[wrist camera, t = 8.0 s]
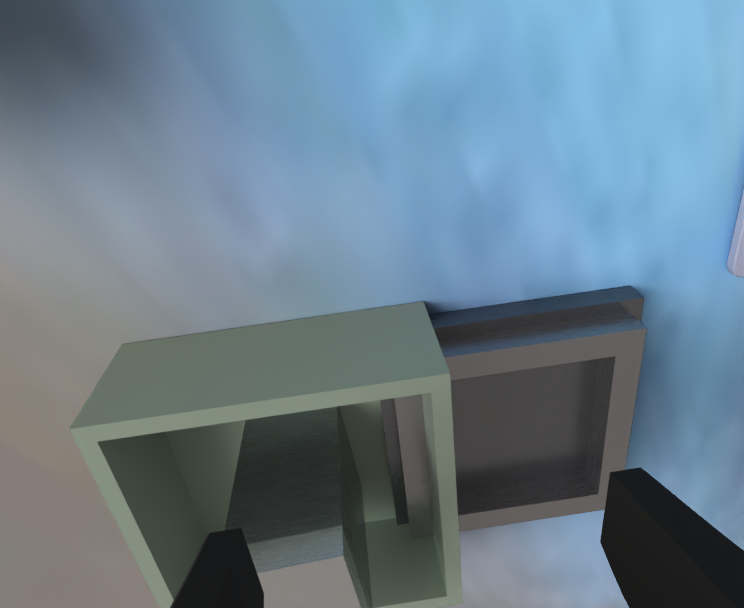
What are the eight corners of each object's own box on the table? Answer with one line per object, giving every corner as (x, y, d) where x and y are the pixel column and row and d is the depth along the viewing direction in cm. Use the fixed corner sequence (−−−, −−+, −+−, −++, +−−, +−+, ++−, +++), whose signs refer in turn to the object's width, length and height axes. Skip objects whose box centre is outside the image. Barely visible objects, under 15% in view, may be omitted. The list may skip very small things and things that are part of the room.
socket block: (629, 285, 20) (663, 313, 18) (605, 475, 25) (629, 513, 23) (369, 323, 20) (374, 355, 18) (394, 507, 25) (400, 548, 23)
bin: (423, 301, 20) (449, 373, 16) (439, 509, 25) (462, 603, 21) (121, 344, 19) (69, 429, 15) (203, 545, 25) (180, 647, 21)
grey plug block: (336, 396, 21) (343, 555, 14) (361, 486, 23) (377, 655, 17) (246, 415, 21) (214, 582, 14) (281, 502, 23) (266, 677, 17)
